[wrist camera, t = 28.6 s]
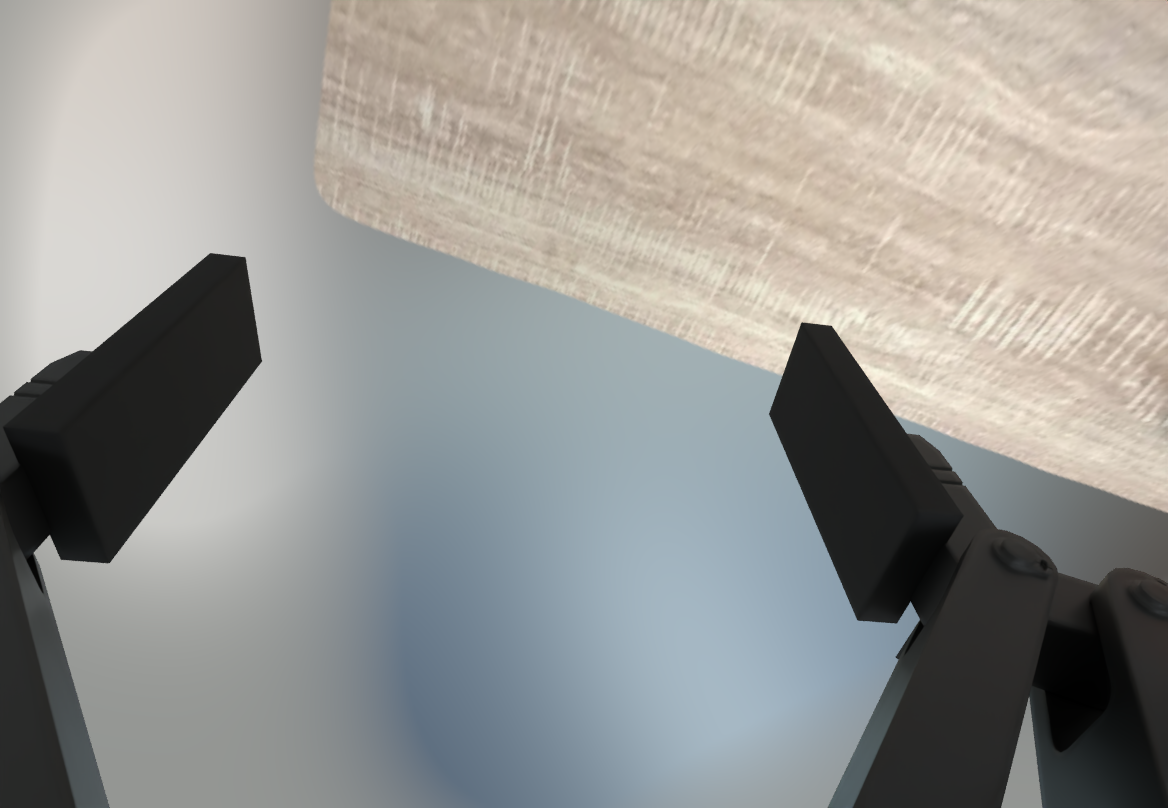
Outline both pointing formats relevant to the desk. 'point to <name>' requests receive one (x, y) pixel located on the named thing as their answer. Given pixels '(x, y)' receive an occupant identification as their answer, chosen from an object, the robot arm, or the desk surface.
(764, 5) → the desk surface
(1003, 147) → the desk surface
